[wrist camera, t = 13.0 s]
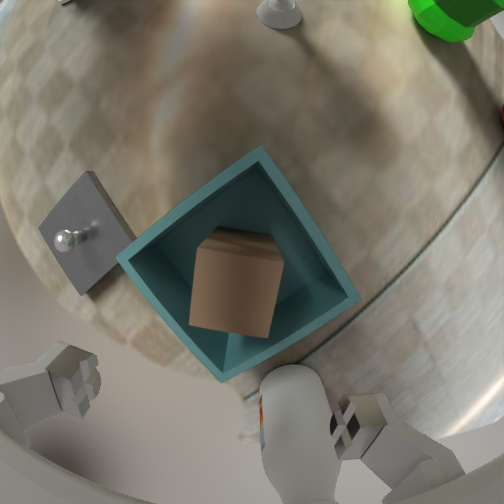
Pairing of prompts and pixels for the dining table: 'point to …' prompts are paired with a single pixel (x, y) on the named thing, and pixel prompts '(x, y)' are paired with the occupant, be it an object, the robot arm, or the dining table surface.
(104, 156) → the dining table surface
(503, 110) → the fruit
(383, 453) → the robot arm
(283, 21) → the chalice
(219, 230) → the brown wooden block
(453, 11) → the plastic bottle
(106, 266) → the gray square plate
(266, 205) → the bin
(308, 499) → the milk bottle
